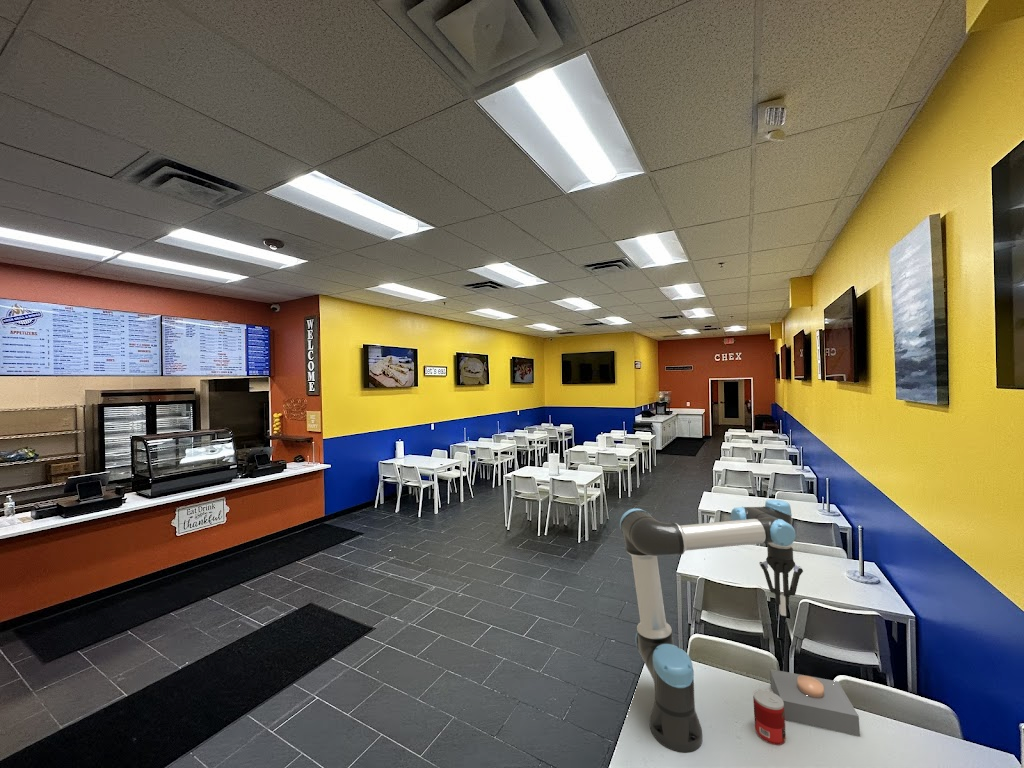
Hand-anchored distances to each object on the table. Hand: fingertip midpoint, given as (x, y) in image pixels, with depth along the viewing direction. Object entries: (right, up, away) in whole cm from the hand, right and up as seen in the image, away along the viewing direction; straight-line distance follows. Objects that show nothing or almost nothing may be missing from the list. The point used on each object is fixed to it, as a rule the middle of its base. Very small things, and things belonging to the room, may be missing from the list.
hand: (782, 613), depth 141 cm
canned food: (-15, -28, -17) cm, 36 cm away
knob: (+4, -26, -8) cm, 28 cm away
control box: (+4, -27, -8) cm, 29 cm away
